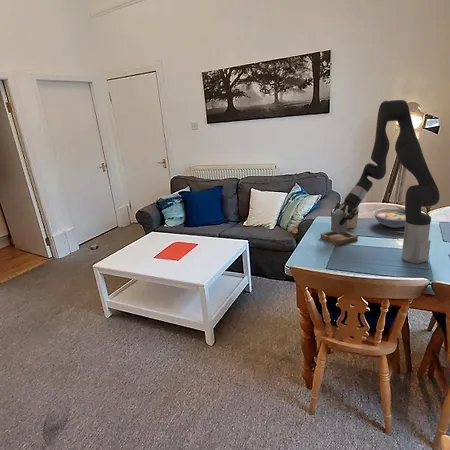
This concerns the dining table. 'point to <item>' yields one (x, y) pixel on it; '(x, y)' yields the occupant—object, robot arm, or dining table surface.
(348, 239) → the tray
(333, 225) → the grey rectangular block
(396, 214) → the ramen bowl
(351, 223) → the coffee cup
